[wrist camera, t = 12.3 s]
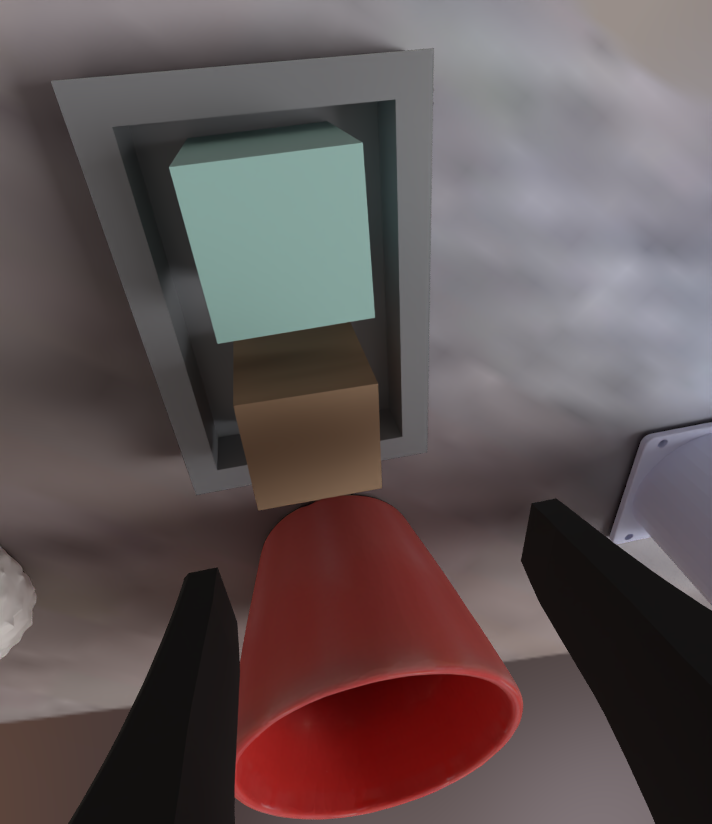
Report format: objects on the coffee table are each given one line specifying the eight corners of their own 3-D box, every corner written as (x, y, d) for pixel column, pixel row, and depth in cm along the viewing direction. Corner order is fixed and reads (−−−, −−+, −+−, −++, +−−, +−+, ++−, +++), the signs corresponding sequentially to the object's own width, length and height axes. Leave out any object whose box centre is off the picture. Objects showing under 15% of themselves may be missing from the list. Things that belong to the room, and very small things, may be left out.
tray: (405, 50, 14) (433, 48, 12) (409, 416, 22) (427, 452, 20) (78, 78, 13) (50, 81, 11) (199, 453, 21) (196, 495, 19)
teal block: (341, 257, 17) (375, 317, 13) (221, 275, 16) (217, 343, 12) (327, 121, 15) (362, 142, 11) (187, 137, 14) (169, 167, 10)
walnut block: (352, 404, 20) (381, 488, 16) (253, 420, 20) (258, 510, 16) (345, 312, 18) (378, 383, 14) (233, 327, 18) (233, 406, 14)
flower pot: (261, 448, 21) (277, 670, 14) (473, 487, 25) (581, 677, 18) (204, 604, 26) (192, 833, 18) (389, 617, 30) (444, 809, 22)
